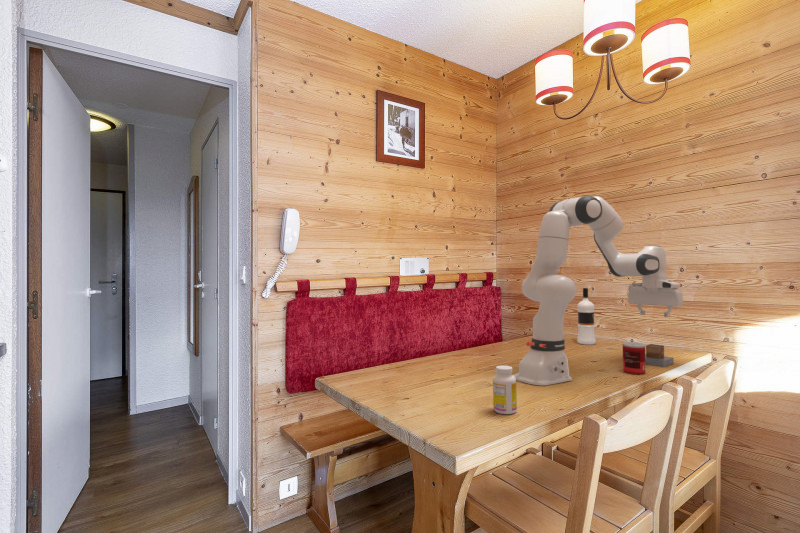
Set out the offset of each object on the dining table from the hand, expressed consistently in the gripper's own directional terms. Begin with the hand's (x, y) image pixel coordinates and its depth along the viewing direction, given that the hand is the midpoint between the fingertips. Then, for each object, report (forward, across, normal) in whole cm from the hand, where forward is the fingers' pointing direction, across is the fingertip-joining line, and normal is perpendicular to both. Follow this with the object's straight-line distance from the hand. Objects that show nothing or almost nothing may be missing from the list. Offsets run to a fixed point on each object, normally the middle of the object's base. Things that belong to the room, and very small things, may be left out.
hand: (654, 315), depth 170 cm
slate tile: (+20, 0, 0) cm, 20 cm away
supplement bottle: (+21, -3, -95) cm, 97 cm away
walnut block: (+18, 0, 0) cm, 18 cm away
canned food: (+21, +1, -22) cm, 30 cm away
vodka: (+20, -41, +19) cm, 50 cm away
